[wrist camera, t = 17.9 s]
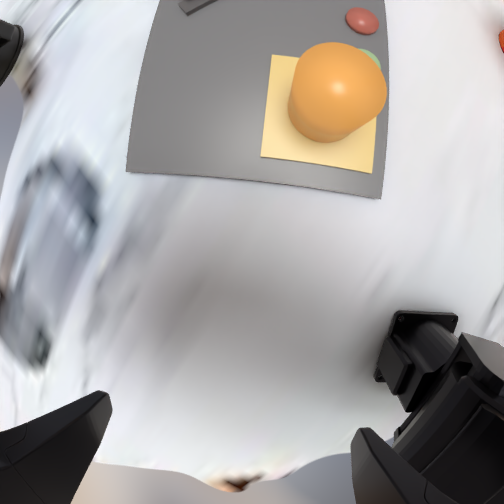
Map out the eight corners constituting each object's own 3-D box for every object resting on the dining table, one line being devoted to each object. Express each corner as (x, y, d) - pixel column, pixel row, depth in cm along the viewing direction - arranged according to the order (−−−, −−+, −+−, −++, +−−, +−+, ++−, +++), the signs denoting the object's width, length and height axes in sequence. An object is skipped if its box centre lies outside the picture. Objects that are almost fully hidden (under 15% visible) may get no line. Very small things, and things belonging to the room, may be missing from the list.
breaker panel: (379, -8, 14) (384, -16, 12) (376, 198, 18) (383, 199, 17) (173, -25, 14) (168, -33, 13) (130, 172, 19) (122, 171, 17)
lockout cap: (359, 86, 15) (387, 56, 10) (353, 149, 16) (384, 135, 11) (291, 72, 15) (299, 34, 10) (283, 136, 16) (289, 115, 11)
